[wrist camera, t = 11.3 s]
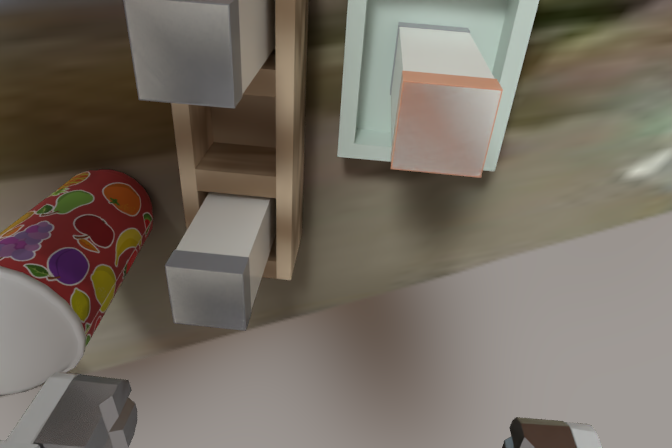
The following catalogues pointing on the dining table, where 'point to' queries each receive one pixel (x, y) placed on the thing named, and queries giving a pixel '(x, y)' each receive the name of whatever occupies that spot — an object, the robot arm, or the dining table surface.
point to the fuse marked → (441, 101)
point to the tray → (378, 55)
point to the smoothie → (65, 272)
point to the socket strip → (255, 140)
